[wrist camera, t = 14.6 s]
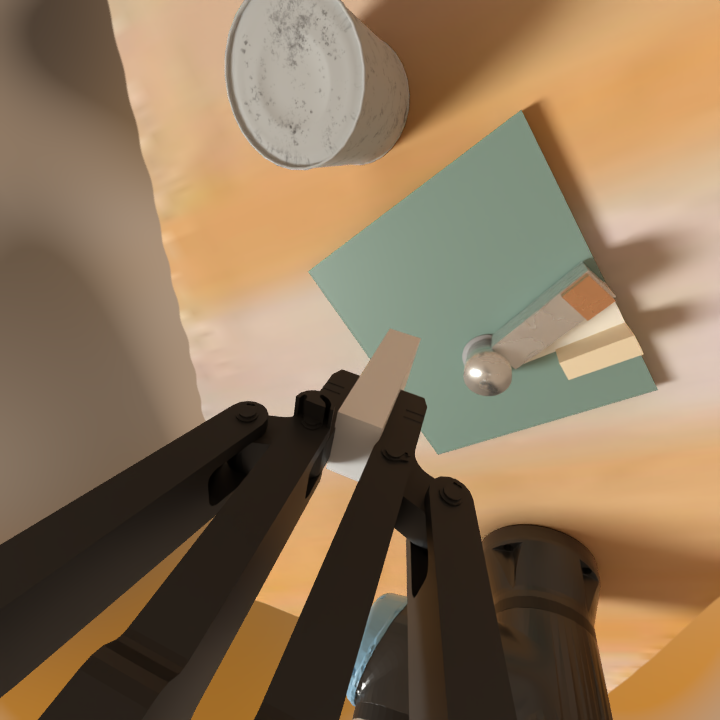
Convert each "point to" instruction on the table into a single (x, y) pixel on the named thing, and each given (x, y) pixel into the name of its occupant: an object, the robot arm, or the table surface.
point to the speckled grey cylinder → (313, 84)
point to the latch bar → (535, 329)
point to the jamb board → (482, 292)
